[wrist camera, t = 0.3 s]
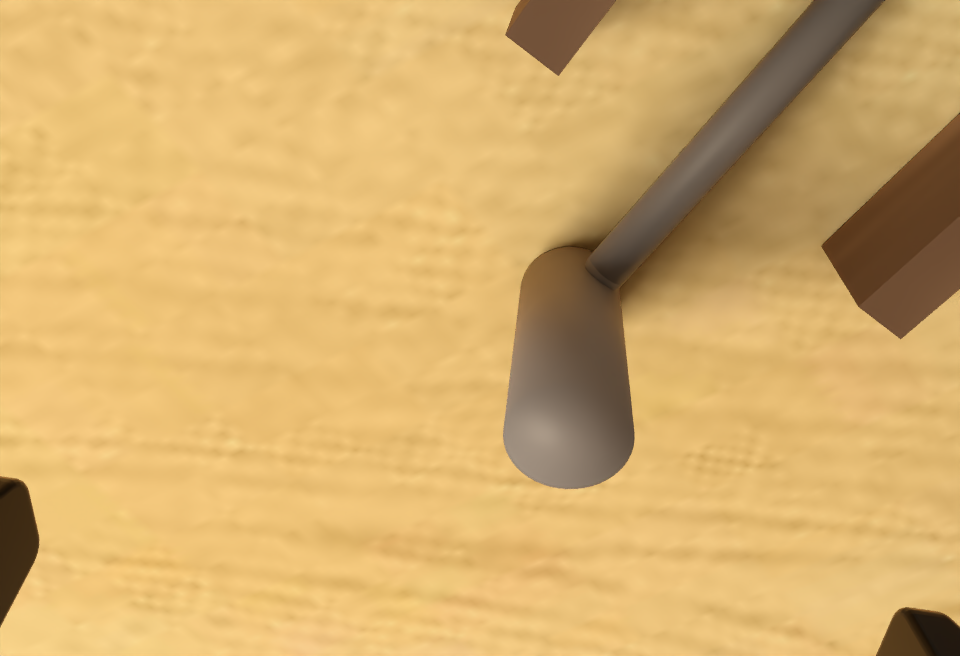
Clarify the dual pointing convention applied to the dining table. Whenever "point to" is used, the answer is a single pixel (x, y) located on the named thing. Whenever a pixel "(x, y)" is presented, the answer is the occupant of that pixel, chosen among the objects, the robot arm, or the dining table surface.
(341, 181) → the dining table surface
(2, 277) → the dining table surface
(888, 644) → the robot arm
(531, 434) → the grey block with handle
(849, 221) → the lane rack
